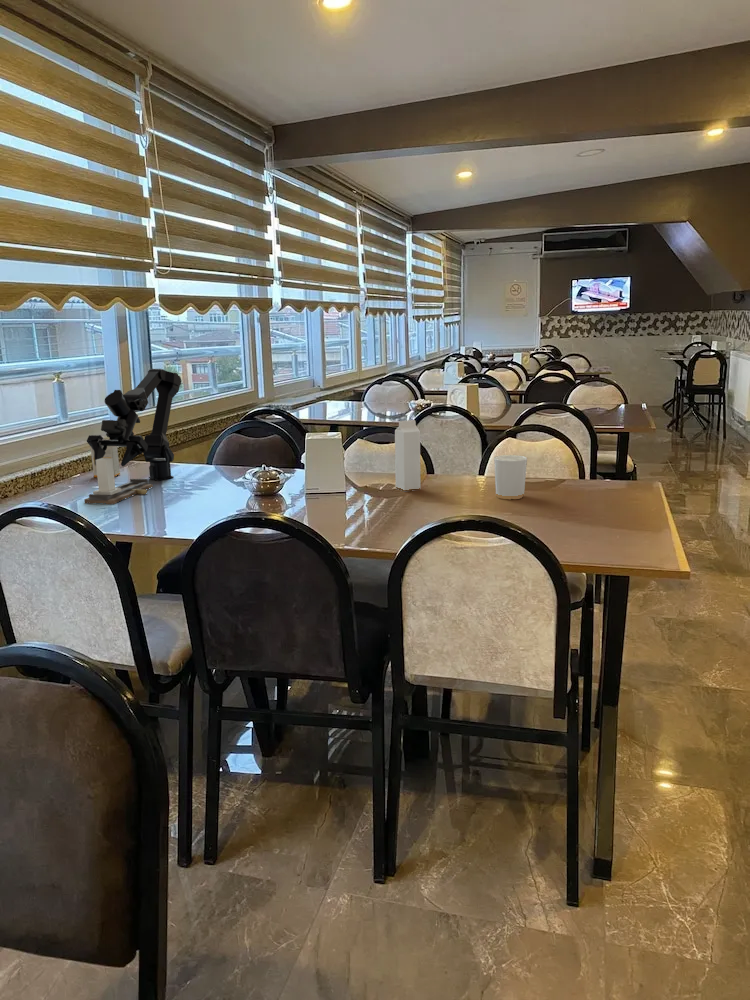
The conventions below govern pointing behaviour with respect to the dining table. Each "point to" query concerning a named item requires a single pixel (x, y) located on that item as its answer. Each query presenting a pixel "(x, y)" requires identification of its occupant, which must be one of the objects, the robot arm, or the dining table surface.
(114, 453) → the supplement box
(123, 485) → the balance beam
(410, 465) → the milk
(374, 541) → the dining table surface
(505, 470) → the candle holder
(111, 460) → the white upright block
